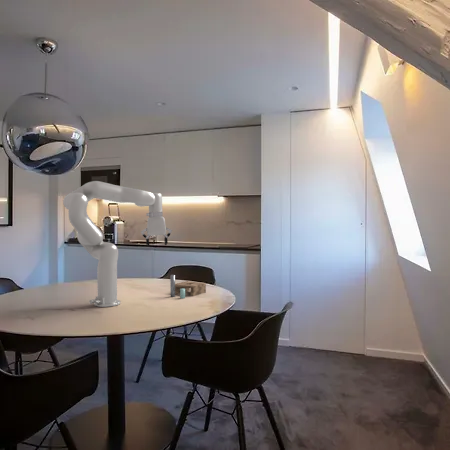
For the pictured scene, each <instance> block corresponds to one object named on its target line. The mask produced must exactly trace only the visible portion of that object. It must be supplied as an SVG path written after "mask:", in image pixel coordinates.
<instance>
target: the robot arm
mask: <svg viewBox="0 0 450 450" xmlns="http://www.w3.org/2000/svg"><path fill="white" fill-rule="evenodd" d="M93 199H101V200H105V201H110V202H114V203H123V204H124V203H126V204H127V203H130V204H134V205H135V206H136V207H141V208H142V207H148V212H147V213H146V215H145V216H146V217H147V224H146V227H145V228H144V229H142V230H140V233H141V235H142V237H144V238H145V244H146V245H147V247H150V239H149V238H150V236H153V237H154V236H164V246H167V244H168V238H169V237H170V236H171V235H172V232H173V230H172V229H171V228H168V227H166V219H165V217H163V196H162V193H160V192H151V191H147V190H142V189H138V188H134V187H133V188H132V187H126V186H122V185H117V184H116V185H115V184H112V183H108V182H103V181H99V180H93V181H89V182H86V183H84V184H83V185H82V186H80V187H77V188H76V189H75V190H73V191H71V192H69V193H68V194H67V195H65V196H64V197H63V200H62V201H63V207H64V208H65V209H67V211H68V220H69V223H70V224H71V225H72V227H73V228H74V229H75V230H76V232H77V234H76V237H77V241H78V242H79V244H80V245H81V246H82V248H84V250H86V251H87V252H88V253H89V255H90V256H91V257H92V258H93V259H95V260H97V261H98V263H97V267H96V269H97V270H96V273H97V277H96V280H97V284H96V285H97V295H96V296H95V298H94V299H92V298H91V299H90V300H89V301H88V302H89V304H90V305H93V304H94V306H95V307H101V308H110V307H115V306H119V305H120V304H121V300H120V299H118V260H119V248H118V247H117V245H116V244H114V243H112V242H108V241H107V242H106V241H103V239H104V234H103V232H102V230H101V229H100V228H99V227H98V226H97V225H96V224H95V223H94V221H93V220H92V219H91V218H90V217H89V215H88V211H87V210H88V206H89V205H88V204H89V202H90V201H91V200H93ZM145 232H147V233H146V234H145ZM167 232H168V233H167Z"/></svg>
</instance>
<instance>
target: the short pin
mask: <svg viewBox="0 0 450 450" xmlns="http://www.w3.org/2000/svg"><path fill="white" fill-rule="evenodd" d="M179 294H180V295H179V298H180V299H181V300H184V299H186V292H185V289H180V293H179Z"/></svg>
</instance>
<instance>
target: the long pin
mask: <svg viewBox="0 0 450 450" xmlns="http://www.w3.org/2000/svg"><path fill="white" fill-rule="evenodd" d="M169 278H170V281H169V282H170V298H176V294H175V284H176V275H175V274H171V275H170V277H169Z"/></svg>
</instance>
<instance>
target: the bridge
mask: <svg viewBox="0 0 450 450" xmlns="http://www.w3.org/2000/svg"><path fill="white" fill-rule="evenodd" d="M180 289H185V293H186V292H189V291H190V297H195V296H199V295H201V294H205V293H206V291H207V283H206V282H197V281H190V280H186V281H182V282H177V283H175V295H177V294H178V295H179V294H180Z"/></svg>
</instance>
